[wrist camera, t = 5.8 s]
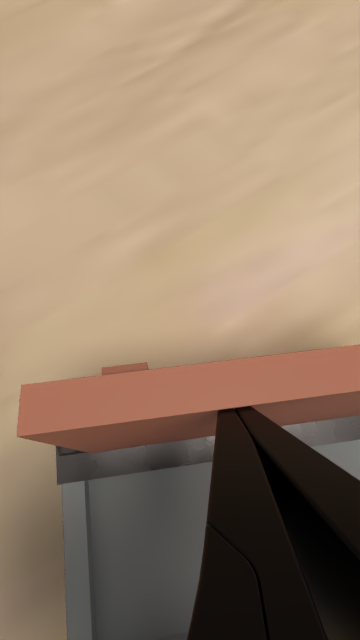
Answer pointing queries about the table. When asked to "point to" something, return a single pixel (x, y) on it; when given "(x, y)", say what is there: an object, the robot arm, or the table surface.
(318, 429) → the sill
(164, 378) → the panel
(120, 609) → the tray
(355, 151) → the table surface
